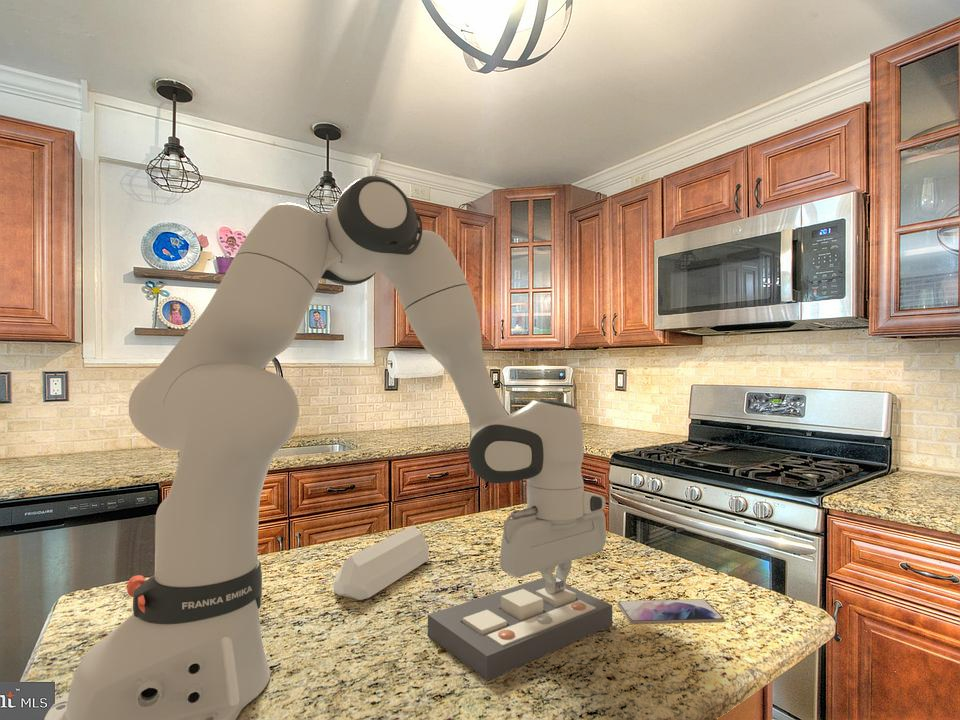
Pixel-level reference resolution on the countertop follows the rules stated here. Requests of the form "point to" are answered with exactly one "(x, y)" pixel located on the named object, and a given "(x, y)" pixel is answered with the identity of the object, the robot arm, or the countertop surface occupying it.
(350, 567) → the beige chamfered bar
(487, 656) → the button board
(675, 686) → the countertop surface
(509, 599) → the button middle
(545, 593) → the button right
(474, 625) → the button left
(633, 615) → the smartphone
